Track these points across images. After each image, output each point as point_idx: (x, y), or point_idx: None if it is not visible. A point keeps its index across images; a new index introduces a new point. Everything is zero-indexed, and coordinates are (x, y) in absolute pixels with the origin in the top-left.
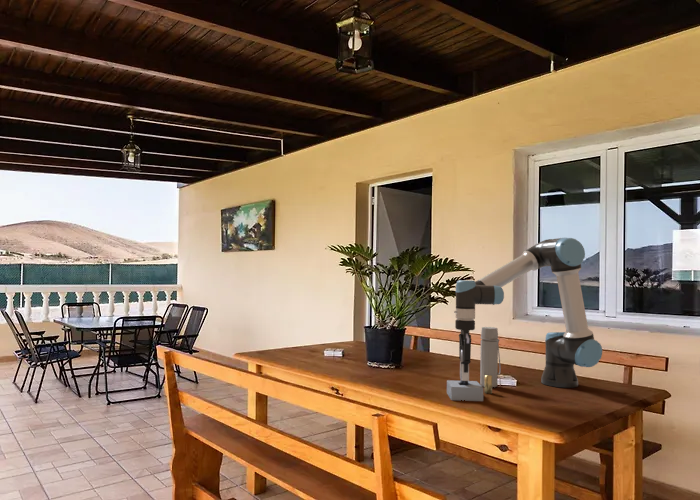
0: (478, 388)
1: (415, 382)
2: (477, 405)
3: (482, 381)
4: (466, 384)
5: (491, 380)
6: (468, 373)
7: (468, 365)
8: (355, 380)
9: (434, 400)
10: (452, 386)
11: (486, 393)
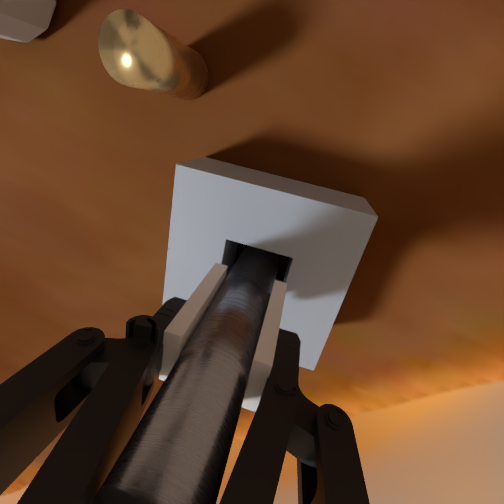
0: (365, 244)
1: (25, 322)
2: (435, 265)
3: (12, 31)
4: (273, 278)
5: (168, 38)
6: (281, 314)
7: (273, 360)
8: (42, 455)
9: (304, 381)
10: (304, 362)
11: (201, 94)
